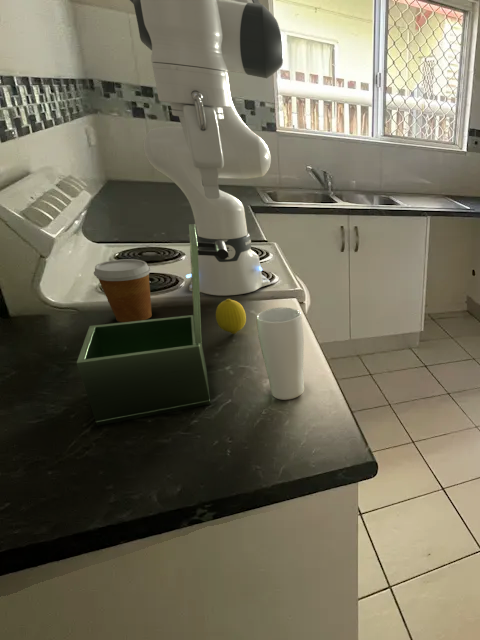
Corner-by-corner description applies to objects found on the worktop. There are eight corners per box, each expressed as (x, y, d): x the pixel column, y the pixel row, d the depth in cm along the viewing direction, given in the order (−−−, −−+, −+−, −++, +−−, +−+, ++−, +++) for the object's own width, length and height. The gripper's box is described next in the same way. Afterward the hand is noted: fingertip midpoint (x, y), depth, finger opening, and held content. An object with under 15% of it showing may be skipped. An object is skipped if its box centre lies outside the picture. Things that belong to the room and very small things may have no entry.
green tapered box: (97, 426, 71) (76, 362, 66) (106, 383, 81) (89, 325, 76) (210, 404, 78) (198, 346, 74) (206, 367, 88) (195, 314, 84)
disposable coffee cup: (104, 328, 99) (89, 273, 94) (109, 312, 106) (94, 260, 101) (160, 322, 104) (148, 269, 99) (161, 307, 111) (149, 257, 106)
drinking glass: (299, 379, 88) (291, 304, 82) (315, 395, 84) (308, 317, 77) (260, 390, 83) (249, 312, 77) (275, 408, 79) (264, 326, 73)
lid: (191, 244, 68) (230, 247, 71) (188, 224, 78) (223, 226, 81) (195, 343, 73) (231, 342, 76) (192, 312, 84) (224, 312, 86)
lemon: (236, 340, 99) (230, 305, 96) (212, 336, 100) (206, 301, 97) (254, 331, 104) (249, 296, 101) (231, 326, 105) (226, 292, 102)
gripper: (226, 94, 60) (241, 205, 66) (215, 93, 76) (228, 182, 81) (166, 88, 57) (187, 205, 63) (168, 88, 72) (185, 182, 78)
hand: (210, 192), depth 72 cm, fingers open, 8 cm apart
